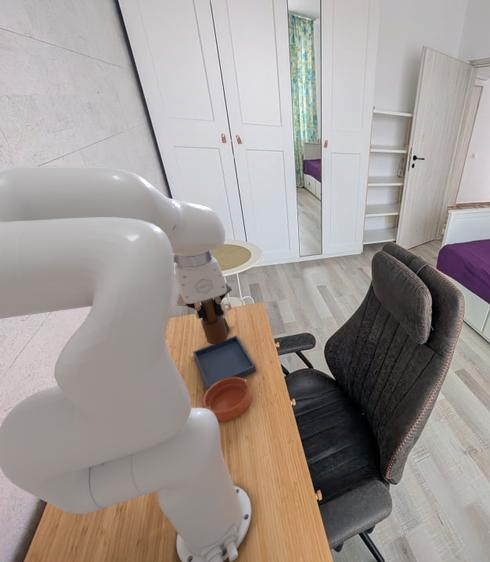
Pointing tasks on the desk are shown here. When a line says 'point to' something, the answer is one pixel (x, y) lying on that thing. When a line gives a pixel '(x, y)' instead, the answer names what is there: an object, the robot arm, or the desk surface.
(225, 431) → the desk surface
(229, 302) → the character mug
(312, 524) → the desk surface
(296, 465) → the desk surface
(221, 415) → the bowl
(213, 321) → the bottle
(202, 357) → the tray
